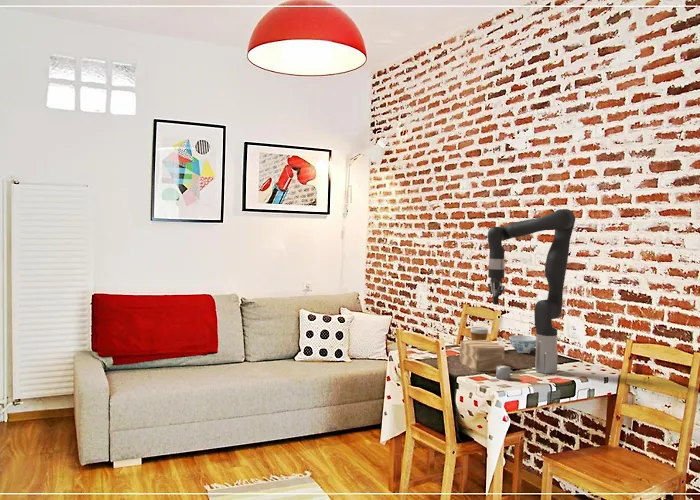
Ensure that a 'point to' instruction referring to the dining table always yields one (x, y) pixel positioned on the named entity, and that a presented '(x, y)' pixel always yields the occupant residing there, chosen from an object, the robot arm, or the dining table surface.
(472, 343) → the box lid
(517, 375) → the dining table surface
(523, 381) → the dining table surface
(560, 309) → the robot arm
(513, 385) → the dining table surface
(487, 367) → the wooden box
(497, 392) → the dining table surface
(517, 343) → the chinaware
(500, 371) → the grey rounded block
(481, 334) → the disposable coffee cup
